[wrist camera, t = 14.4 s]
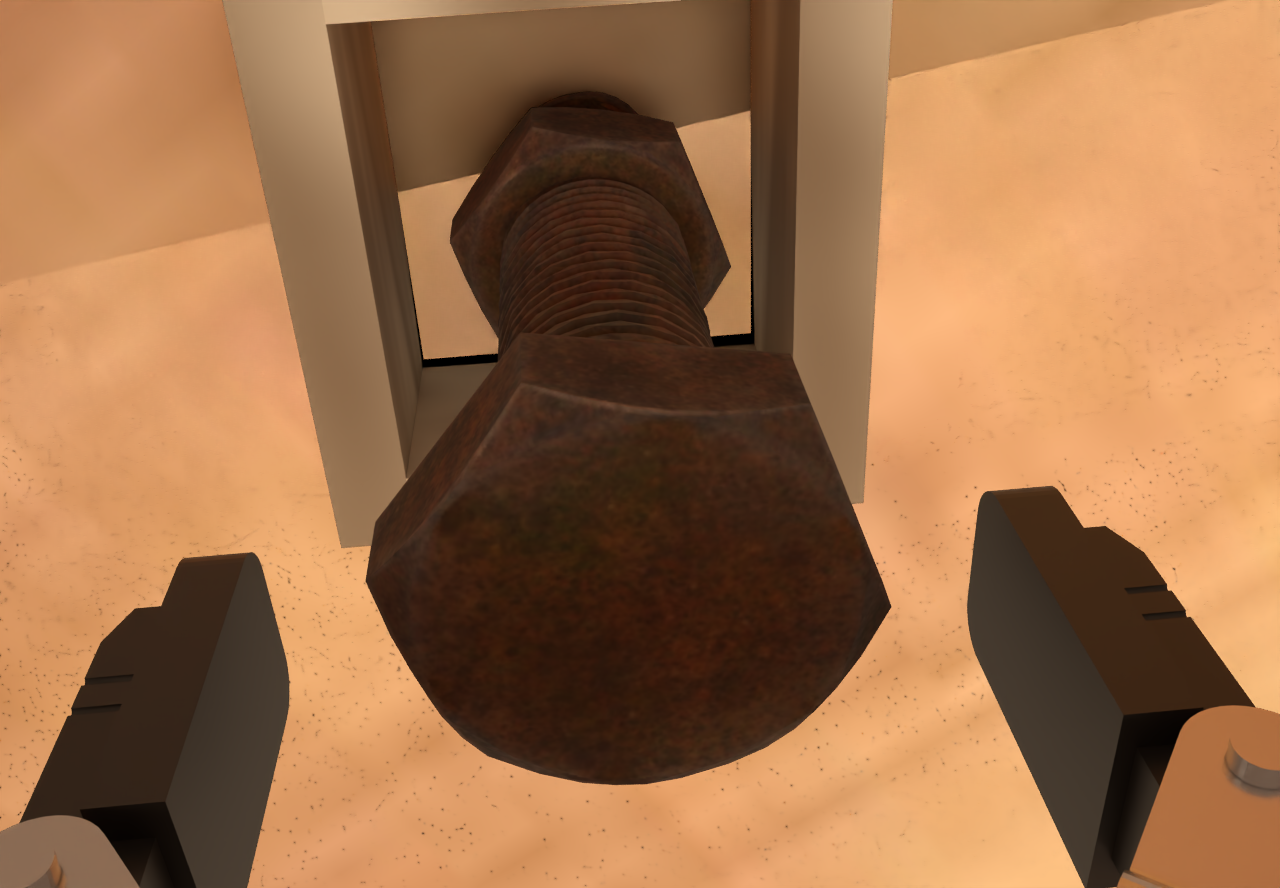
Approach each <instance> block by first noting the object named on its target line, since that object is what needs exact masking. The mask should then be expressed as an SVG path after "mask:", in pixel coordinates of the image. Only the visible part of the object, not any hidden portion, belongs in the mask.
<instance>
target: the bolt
mask: <svg viewBox="0 0 1280 888" xmlns="http://www.w3.org/2000/svg"><path fill="white" fill-rule="evenodd" d="M450 244H451V246H452V248H453V251H454V253H455V255H456V258H457V260H458V262H459V265H460V267H461V269H462V272H463V274H464V276H465V278H466V280H467V282H468V284H469V286H470V288H471V290H472V292H473V294H474V296H475V298H476V300H477V302H478V304H479V306H480V308H481V310H482V312H483V314H484V315H485V317H486V319H487V320H488V322H489V324H490V325H491V327H492V329H493V330H494V332H495V334H496V335H497V337H498V339H499V345H498V363H497V364H496V365H495V367H494V368H493V369H492V371H491V372H490V373H489V374H488V376H487V377H486V378H485V380H484V381H483V382H482V384H481V385H480V386H479V387H478V389H477V390H476V391H475V393H474V394H473V395H472V397H471V398H470V399H469V400H468V402H467V403H466V404H465V406H464V407H463V408H462V410H461V411H460V412H459V413H458V415H457V416H456V417H455V419H454V420H453V421H452V423H451V424H450V425H449V427H448V428H447V429H446V430H445V432H444V433H443V434H442V436H441V437H440V438H439V440H438V441H437V442H436V443H435V445H434V446H433V447H432V449H431V450H430V451H429V453H428V454H427V455H426V456H425V458H424V459H423V460H422V462H421V463H420V464H419V466H418V467H417V468H416V469H415V471H414V472H413V473H412V475H411V476H410V477H409V479H408V480H407V481H406V482H405V484H404V485H403V486H402V488H401V489H400V490H399V492H398V493H397V494H396V495H395V497H394V498H393V499H392V501H391V502H390V503H389V505H388V506H387V507H386V509H385V510H384V511H383V512H382V514H381V515H380V516H379V518H378V519H377V520H376V522H375V526H374V532H373V538H372V545H371V551H370V557H369V563H368V569H367V575H366V583H367V585H368V587H369V589H370V592H371V594H372V596H373V598H374V600H375V603H376V605H377V607H378V609H379V611H380V614H381V616H382V618H383V620H384V622H385V625H386V627H387V629H388V631H389V633H390V636H391V637H392V639H393V641H394V642H395V644H396V646H397V648H398V649H399V651H400V653H401V654H402V656H403V658H404V660H405V661H406V663H407V665H408V666H409V668H410V670H411V671H412V673H413V674H414V676H415V678H416V679H417V681H418V682H419V684H420V685H421V687H422V688H423V690H424V691H425V693H426V694H427V696H428V698H429V699H430V700H431V702H432V703H433V705H434V706H435V708H436V709H437V710H438V712H439V713H440V715H441V716H442V717H443V718H444V719H445V720H446V721H447V722H448V723H449V724H450V725H451V726H452V727H453V728H454V730H455V731H456V732H457V733H458V734H459V735H460V736H461V737H462V738H463V739H465V740H466V741H468V742H469V743H470V744H472V745H473V746H475V747H476V748H477V749H479V750H480V751H482V752H483V753H484V754H486V755H487V756H489V757H492V758H495V759H498V760H501V761H504V762H507V763H510V764H513V765H515V766H518V767H521V768H524V769H527V770H530V771H533V772H536V773H539V774H543V775H548V776H553V777H558V778H563V779H567V780H572V781H577V782H582V783H594V784H609V785H631V784H650V783H655V782H661V781H666V780H672V779H678V778H683V777H686V776H689V775H692V774H696V773H699V772H702V771H706V770H709V769H712V768H716V767H719V766H722V765H726V764H729V763H731V762H733V761H736V760H738V759H740V758H743V757H745V756H747V755H750V754H752V753H754V752H757V751H759V750H761V749H763V748H765V747H767V746H769V745H770V744H772V743H773V742H775V741H776V740H778V739H779V738H781V737H783V736H784V735H786V734H787V733H789V732H790V731H792V730H794V729H795V728H796V727H797V726H798V725H799V724H801V723H802V722H803V721H804V720H805V719H806V718H807V717H808V716H809V715H811V714H812V713H813V712H814V711H815V710H816V709H817V708H818V707H819V706H820V705H821V704H822V703H823V702H824V701H825V699H826V698H827V697H828V696H829V695H830V694H831V693H832V692H833V691H834V690H835V689H836V688H837V687H838V685H839V684H840V683H841V681H842V680H843V679H844V677H845V676H846V675H847V674H848V672H849V671H850V670H851V668H852V667H853V666H854V665H855V663H856V662H857V661H858V659H859V658H860V657H861V655H862V654H863V652H864V651H865V649H866V647H867V646H868V644H869V642H870V641H871V639H872V638H873V636H874V634H875V633H876V631H877V629H878V628H879V626H880V625H881V623H882V621H883V620H884V618H885V617H886V615H887V613H888V612H889V610H890V608H891V604H890V602H889V599H888V596H887V593H886V590H885V587H884V584H883V582H882V579H881V577H880V574H879V572H878V569H877V567H876V564H875V562H874V559H873V557H872V554H871V552H870V549H869V547H868V544H867V542H866V539H865V537H864V534H863V532H862V529H861V527H860V524H859V522H858V519H857V516H856V514H855V511H854V509H853V506H852V504H851V501H850V499H849V496H848V494H847V491H846V489H845V486H844V484H843V481H842V478H841V476H840V473H839V471H838V468H837V466H836V463H835V461H834V458H833V456H832V453H831V451H830V449H829V446H828V444H827V441H826V439H825V436H824V434H823V431H822V429H821V427H820V424H819V422H818V419H817V417H816V414H815V412H814V409H813V407H812V405H811V402H810V400H809V397H808V395H807V392H806V390H805V387H804V385H803V383H802V380H801V378H800V375H799V373H798V370H797V368H796V365H795V363H794V361H793V358H792V356H791V354H789V353H776V352H763V351H751V350H738V349H725V348H715V347H714V345H713V342H712V339H711V336H710V329H709V325H708V320H707V316H706V314H705V312H704V308H705V306H706V305H707V304H708V302H709V301H710V300H711V298H712V297H713V295H714V294H715V292H716V290H717V289H718V287H719V285H720V284H721V282H722V281H723V279H724V277H725V276H726V274H727V273H728V271H729V269H730V268H731V265H730V262H729V259H728V257H727V254H726V251H725V248H724V246H723V243H722V240H721V238H720V235H719V233H718V230H717V228H716V225H715V223H714V220H713V218H712V215H711V213H710V210H709V208H708V205H707V203H706V200H705V198H704V195H703V193H702V190H701V188H700V186H699V183H698V181H697V178H696V176H695V173H694V171H693V168H692V166H691V164H690V161H689V159H688V156H687V154H686V151H685V149H684V147H683V144H682V142H681V140H680V137H679V135H678V132H677V130H676V128H675V125H674V123H673V122H669V121H664V120H660V119H655V118H651V117H646V116H642V115H638V114H637V113H636V112H635V111H634V110H633V109H632V108H631V107H630V106H629V105H628V104H626V103H624V102H623V101H621V100H619V99H618V98H616V97H613V96H611V95H608V94H605V93H597V92H581V93H576V94H570V95H564V96H561V97H558V98H555V99H553V100H550V101H548V102H546V103H545V104H543V105H541V106H539V107H538V108H531V109H530V110H529V111H528V112H527V114H526V115H525V116H524V117H523V118H522V120H521V121H520V122H519V123H518V124H517V125H516V127H515V128H514V129H513V130H512V131H511V133H510V134H509V135H508V137H507V138H506V139H505V141H504V142H503V143H502V145H501V146H500V147H499V149H498V150H497V151H496V153H495V154H494V156H493V157H492V158H491V160H490V161H489V163H488V164H487V166H486V167H485V169H484V170H483V172H482V173H481V174H480V176H479V177H478V179H477V180H476V182H475V183H474V185H473V186H472V188H471V190H470V191H469V193H468V195H467V196H466V198H465V199H464V201H463V203H462V204H461V206H460V208H459V209H458V211H457V213H456V214H455V216H454V218H453V220H452V227H451V235H450Z"/></svg>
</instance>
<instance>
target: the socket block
mask: <svg viewBox="0 0 1280 888" xmlns="http://www.w3.org/2000/svg"><path fill="white" fill-rule="evenodd" d="M665 1H679V0H222V2H223V6H224V11H225V15H226V20H227V25H228V29H229V34H230V38H231V43H232V47H233V52H234V57H235V61H236V66H237V70H238V75H239V80H240V84H241V89H242V93H243V98H244V103H245V107H246V112H247V116H248V121H249V126H250V130H251V135H252V139H253V144H254V149H255V153H256V158H257V162H258V167H259V172H260V176H261V181H262V185H263V190H264V195H265V199H266V204H267V208H268V213H269V218H270V222H271V227H272V231H273V236H274V241H275V245H276V250H277V254H278V259H279V264H280V268H281V273H282V277H283V282H284V287H285V291H286V296H287V300H288V305H289V310H290V314H291V319H292V323H293V328H294V333H295V337H296V342H297V346H298V351H299V356H300V360H301V365H302V369H303V374H304V378H305V383H306V388H307V392H308V397H309V401H310V406H311V411H312V415H313V420H314V424H315V429H316V434H317V438H318V443H319V447H320V452H321V457H322V461H323V466H324V470H325V475H326V480H327V484H328V489H329V493H330V498H331V503H332V507H333V512H334V516H335V521H336V526H337V530H338V535H339V539H340V544H341V548H350V547H361V546H371V545H372V538H373V532H374V526H375V522H376V520H377V519H378V518H379V516H380V515H381V514H382V512H383V511H384V510H385V509H386V507H387V506H388V505H389V503H390V502H391V501H392V499H393V498H394V497H395V495H396V494H397V493H398V492H399V490H400V489H401V488H402V486H403V485H404V484H405V482H406V481H407V480H408V479H409V477H410V476H411V475H412V473H413V472H414V471H415V469H416V468H417V467H418V466H419V464H420V463H421V462H422V460H423V459H424V458H425V456H426V455H427V454H428V453H429V451H430V450H431V449H432V447H433V446H434V445H435V443H436V442H437V441H438V440H439V438H440V437H441V436H442V434H443V433H444V432H445V430H446V429H447V428H448V427H449V425H450V424H451V423H452V421H453V420H454V419H455V417H456V416H457V415H458V413H459V412H460V411H461V410H462V408H463V407H464V406H465V404H466V403H467V402H468V400H469V399H470V398H471V397H472V395H473V394H474V393H475V391H476V390H477V389H478V387H479V386H480V385H481V384H482V382H483V381H484V380H485V378H486V377H487V376H488V374H489V373H490V372H491V371H492V369H493V368H494V367H495V365H496V364H497V363H498V353H496V354H483V355H471V356H458V357H446V358H433V359H424V357H423V351H422V345H421V338H420V332H419V326H418V319H417V313H416V307H415V300H414V294H413V288H412V281H411V275H410V269H409V262H408V256H407V250H406V243H405V237H404V231H403V224H402V218H401V212H400V205H399V199H398V193H397V186H396V180H395V174H394V167H393V161H392V155H391V148H390V142H389V136H388V129H387V123H386V117H385V110H384V104H383V98H382V91H381V85H380V79H379V72H378V66H377V60H376V53H375V47H374V41H373V34H372V28H371V22H370V21H383V20H398V19H413V18H427V17H442V16H457V15H472V14H487V13H502V12H516V11H531V10H546V9H561V8H576V7H590V6H605V5H620V4H635V3H650V2H665ZM892 5H893V0H751V333H746V334H733V335H721V336H711V339H712V342H713V345H714V347H715V348H725V349H738V350H751V351H763V352H776V353H789V354H791V356H792V358H793V361H794V363H795V365H796V368H797V370H798V373H799V375H800V378H801V380H802V383H803V385H804V387H805V390H806V392H807V395H808V397H809V400H810V402H811V405H812V407H813V409H814V412H815V414H816V417H817V419H818V422H819V424H820V427H821V429H822V431H823V434H824V436H825V439H826V441H827V444H828V446H829V449H830V451H831V453H832V456H833V458H834V461H835V463H836V466H837V468H838V471H839V473H840V476H841V478H842V481H843V484H844V486H845V489H846V491H847V494H848V496H849V499H850V501H851V504H857V503H863V502H864V485H865V468H866V451H867V434H868V417H869V399H870V382H871V365H872V348H873V331H874V314H875V297H876V279H877V262H878V245H879V228H880V211H881V194H882V177H883V159H884V142H885V125H886V108H887V91H888V74H889V57H890V39H891V22H892Z"/></svg>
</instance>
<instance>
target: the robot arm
mask: <svg viewBox="0 0 1280 888" xmlns="http://www.w3.org/2000/svg"><path fill="white" fill-rule="evenodd" d="M967 613H968V625H969V631H970V636H971V641H972V645H973V648H974V651H975V654H976V656H977V659H978V661H979V663H980V665H981V667H982V669H983V671H984V674H985V676H986V678H987V680H988V682H989V684H990V686H991V688H992V691H993V693H994V695H995V697H996V699H997V701H998V703H999V706H1000V708H1001V710H1002V712H1003V714H1004V716H1005V718H1006V721H1007V723H1008V725H1009V727H1010V729H1011V731H1012V733H1013V735H1014V738H1015V740H1016V742H1017V744H1018V746H1019V748H1020V750H1021V753H1022V755H1023V757H1024V759H1025V761H1026V763H1027V765H1028V768H1029V770H1030V772H1031V774H1032V776H1033V778H1034V780H1035V783H1036V785H1037V787H1038V789H1039V791H1040V793H1041V795H1042V797H1043V800H1044V802H1045V804H1046V806H1047V808H1048V810H1049V812H1050V815H1051V817H1052V819H1053V821H1054V823H1055V825H1056V827H1057V830H1058V832H1059V834H1060V836H1061V838H1062V840H1063V842H1064V844H1065V847H1066V849H1067V851H1068V853H1069V855H1070V857H1071V859H1072V862H1073V864H1074V866H1075V868H1076V870H1077V872H1078V874H1079V877H1080V879H1081V881H1082V883H1083V885H1084V887H1085V888H1113V887H1117V888H1280V714H1278V713H1275V712H1272V711H1268V710H1264V709H1261V708H1256V707H1255V706H1254V704H1253V703H1252V702H1251V700H1250V699H1249V697H1248V696H1247V695H1246V693H1245V692H1244V690H1243V689H1242V688H1241V686H1240V685H1239V684H1238V682H1237V681H1236V679H1235V678H1234V677H1233V675H1232V674H1231V672H1230V671H1229V670H1228V668H1227V667H1226V665H1225V664H1224V663H1223V661H1222V660H1221V659H1220V657H1219V656H1218V654H1217V653H1216V652H1215V650H1214V649H1213V647H1212V646H1211V645H1210V643H1209V642H1208V641H1207V639H1206V638H1205V636H1204V635H1203V634H1202V632H1201V631H1200V629H1199V628H1198V627H1197V625H1196V624H1195V622H1194V621H1193V620H1192V618H1191V617H1187V616H1186V610H1185V609H1184V607H1183V606H1182V604H1181V603H1180V602H1179V600H1178V599H1177V597H1176V596H1175V595H1174V593H1173V592H1172V591H1168V590H1167V584H1166V582H1165V581H1164V579H1163V578H1162V577H1161V575H1160V574H1159V573H1158V571H1157V570H1156V568H1155V567H1154V566H1153V564H1152V563H1151V561H1150V560H1149V559H1148V557H1147V556H1146V554H1145V553H1144V552H1143V551H1141V550H1140V549H1138V548H1137V547H1135V546H1134V545H1132V544H1131V543H1129V542H1128V541H1127V540H1125V539H1124V538H1122V537H1121V536H1119V535H1118V534H1116V533H1115V532H1113V531H1112V530H1110V529H1109V528H1108V527H1106V526H1101V527H1090V528H1083V526H1082V525H1081V523H1080V522H1079V520H1078V519H1077V517H1076V516H1075V514H1074V513H1073V511H1072V510H1071V508H1070V507H1069V505H1068V504H1067V502H1066V501H1065V499H1064V498H1063V496H1062V495H1061V493H1060V492H1059V491H1058V490H1057V489H1056V488H1055V487H1053V486H1045V487H1033V488H1022V489H1010V490H998V491H987V492H985V493H984V494H983V495H982V497H981V499H980V503H979V507H978V514H977V523H976V531H975V540H974V548H973V557H972V566H971V574H970V583H969V591H968V602H967ZM288 708H289V674H288V667H287V661H286V656H285V652H284V649H283V645H282V641H281V637H280V634H279V630H278V626H277V622H276V618H275V615H274V611H273V607H272V603H271V599H270V596H269V592H268V588H267V584H266V581H265V577H264V573H263V569H262V566H261V563H260V561H259V559H258V557H257V556H256V555H255V554H254V553H252V552H251V553H239V554H227V555H216V556H204V557H192V558H184V559H182V560H181V561H180V562H179V564H178V566H177V568H176V571H175V573H174V576H173V578H172V581H171V583H170V586H169V588H168V591H167V593H166V596H165V598H164V601H163V603H162V606H159V607H147V608H136V609H134V610H133V611H132V612H131V613H130V614H129V615H128V616H127V617H126V618H125V619H124V620H123V621H122V622H121V623H120V624H119V625H118V626H117V627H116V628H115V629H114V630H113V631H112V632H111V633H110V634H109V635H108V636H107V637H106V638H105V639H104V640H103V641H102V642H101V643H100V646H99V648H98V650H97V652H96V654H95V657H94V659H93V661H92V663H91V665H90V668H89V670H88V672H87V674H86V677H85V685H84V686H81V688H80V690H79V692H78V694H77V697H76V699H75V701H74V703H73V705H72V708H71V709H72V715H71V716H68V717H67V719H66V721H65V723H64V725H63V728H62V730H61V732H60V734H59V736H58V739H57V741H56V743H55V745H54V748H53V750H52V752H51V754H50V756H49V759H48V761H47V763H46V765H45V768H44V770H43V772H42V774H41V776H40V779H39V781H38V783H37V785H36V788H35V790H34V792H33V794H32V796H31V799H30V801H29V803H28V805H27V807H26V810H25V812H24V814H23V816H22V819H21V821H20V823H19V824H16V825H13V826H11V827H9V828H7V829H5V830H3V831H1V832H0V888H247V885H248V881H249V877H250V873H251V868H252V864H253V860H254V856H255V851H256V847H257V843H258V839H259V834H260V830H261V826H262V822H263V817H264V813H265V809H266V805H267V800H268V796H269V792H270V788H271V783H272V779H273V775H274V771H275V767H276V762H277V758H278V754H279V750H280V745H281V741H282V737H283V733H284V728H285V724H286V720H287V715H288Z"/></svg>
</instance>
